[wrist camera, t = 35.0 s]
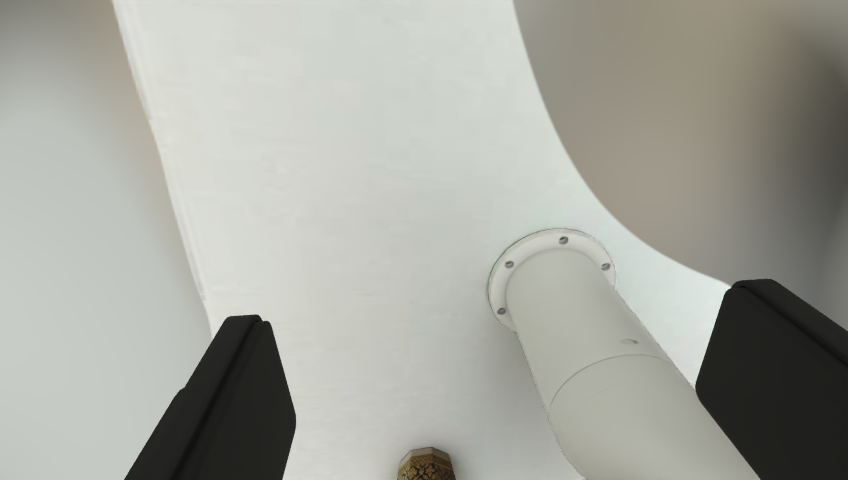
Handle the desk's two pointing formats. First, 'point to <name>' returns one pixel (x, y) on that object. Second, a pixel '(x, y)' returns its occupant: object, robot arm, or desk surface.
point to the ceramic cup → (426, 465)
